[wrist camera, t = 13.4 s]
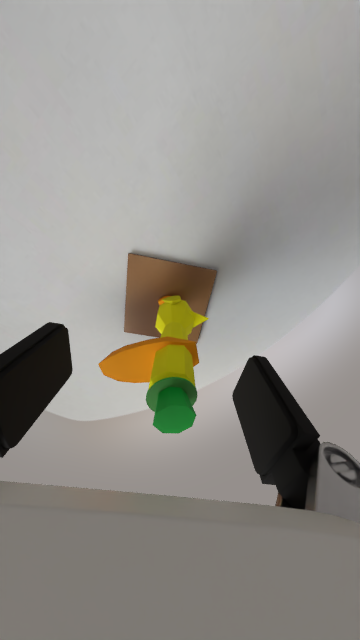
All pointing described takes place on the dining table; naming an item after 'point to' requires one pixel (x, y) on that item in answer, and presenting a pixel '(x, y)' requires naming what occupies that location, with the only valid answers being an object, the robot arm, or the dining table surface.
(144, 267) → the coaster
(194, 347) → the toy figure
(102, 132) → the dining table surface
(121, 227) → the dining table surface
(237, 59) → the dining table surface
